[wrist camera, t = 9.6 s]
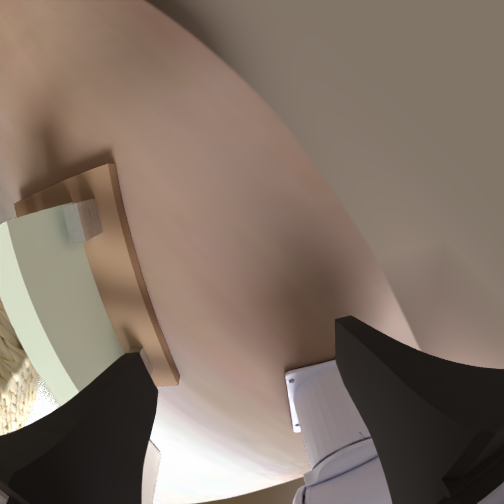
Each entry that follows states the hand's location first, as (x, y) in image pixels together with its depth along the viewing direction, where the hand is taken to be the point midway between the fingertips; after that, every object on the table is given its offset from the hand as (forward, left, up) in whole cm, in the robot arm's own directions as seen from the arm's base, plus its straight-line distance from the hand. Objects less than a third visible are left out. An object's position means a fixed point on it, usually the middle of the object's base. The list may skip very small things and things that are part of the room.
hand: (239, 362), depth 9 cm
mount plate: (0, +12, -10) cm, 16 cm away
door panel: (0, +12, -9) cm, 15 cm away
